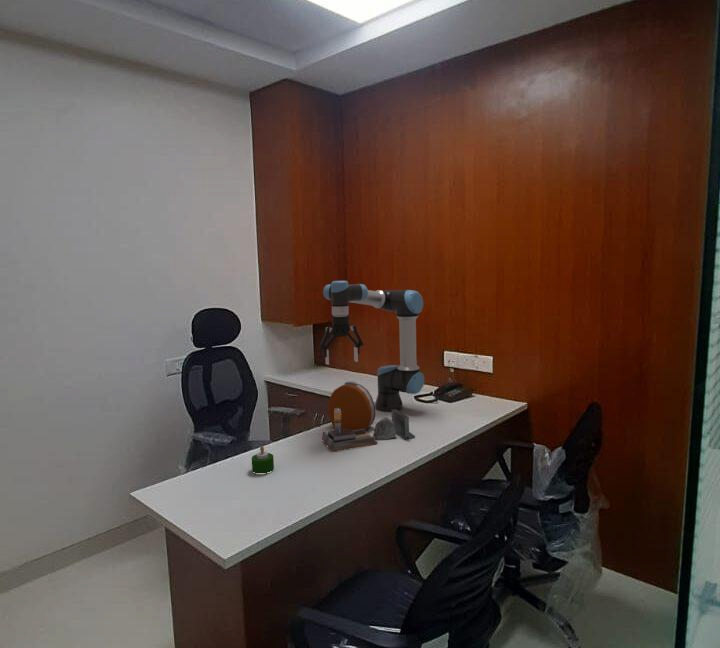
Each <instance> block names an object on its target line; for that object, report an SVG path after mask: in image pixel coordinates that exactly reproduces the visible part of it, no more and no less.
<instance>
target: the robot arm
mask: <svg viewBox="0 0 720 648" xmlns="http://www.w3.org/2000/svg"><path fill="white" fill-rule="evenodd" d="M322 294H323V297H324V298H325V299H326V300H329V301H331V315H332V317H331V325H332V326H331V327H328V326H326V327H325V331H324V334H323V336H322V338H321V341H320V343H319V345H318V348H319V349H320V350H322V351H323V352H322V355H323V357H324V359H325V364H326V365H328V366H329V365H330V356H329V355H330V354H329V353H330V351H329V347H331V346H330V345H332V343H333V342H334V340H335V339H336V338H341V337H347V338H348V339H349V340H350V342H352V344H353V345H354V347H353V359H354V360H353V361H354V362H355V363H358V362H359V357H358V356H359V355H360V347H363V346H364V342H363V341H362V339H361V337H360V334H359V332H358V330H357V325H350V317H349V315H350V312H349V311H350V309H349V308H350V307H349V306H350V304H349V303H354V304H359V305H366V306H371V307H374V308H375V309H379V310H384V311H387V312H392V313H395V314H396V315H395V316H396V318H397V319H398V320H399V321H398V323H399V324H398V325H399V330H398V331H399V362H400V363H399V365H396V364H395V365H394V364H393V365H392V364H391V365H384V366H380V367H379V368H377V375H376V376H377V396H376V399H375V403H374V405H375V410H378V411H380V412H381V411H382V412H392V410H393V409H396V410H398V411H400V410H402V409H403V401H402V397H401V394H400V392H401V393H404V394H405V393H406V394H409V395H416V394H419V392H421V391H422V388H423V387H424V385H425V375H424V374H423V372H420V366H419V365H418V364H417V323H416V322H417V318H419V314H420V313H421V312H422V311H423V308H424V299H423V296H422V294H420V293H419V291H416V290H413V289H391V290H387V289H385V290H380V289H377V290H371V289H370V290H369V289H368V288H367V286H366V285H365V284H363V283H362V284H361V283H355V284H350V283H349V282H348V281H347V280H333V281H332V282H331V283H330V284H326V285H325V286H324V287H323V293H322ZM350 330H351V332H352V333H353V335H354V337H355V338H356V339H355V338H354V337H353V335H352V334H351V333H350V332H349V331H350ZM331 332H332V333H331ZM330 333H331V335H330ZM329 335H330V337H329ZM328 337H329V338H328Z"/></svg>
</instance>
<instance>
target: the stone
mask: <svg viewBox="0 0 720 648" xmlns="http://www.w3.org/2000/svg"><path fill="white" fill-rule="evenodd" d="M395 427H396V426H395V424H394V422H393V421H392V419H390V418H388V417H386V416H384V417H382V418H381V419H380V420H379V421H377V422H376V424H375V426H374V429H373V433H372V437H374V439H375V440H378V441H379V440H389V439H393V438H395V436H396V434H397V433H396V428H395Z"/></svg>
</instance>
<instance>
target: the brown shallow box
mask: <svg viewBox="0 0 720 648" xmlns="http://www.w3.org/2000/svg"><path fill="white" fill-rule="evenodd" d="M352 431H353V432H354V433H355V434H356V439H354V440H348V441H341V442H335V443H334V441H333V440H332V439H331V438H330V437H329V436H328V433H326V431H322V434H321V435H322V437H321V438H322V439H321V440H323V441H322V442H323V444H324V443H325V444H326V445H327V446H328V447H327V446H326V445H325V444H324V445H325V446H326V447H327V448H328V449H329V451H330V450H331V451H333V452H338V450H339V451H344V449H346V450H350V448H352V449H356V448H362V447H363V448H364V447H370V446H375V445H378V441H377V439H376V438H375V437H374V436H372V435H370V434H369V433H368V432H367V431H366V430H365V429H359V430H352ZM331 451H330V452H331Z"/></svg>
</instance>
